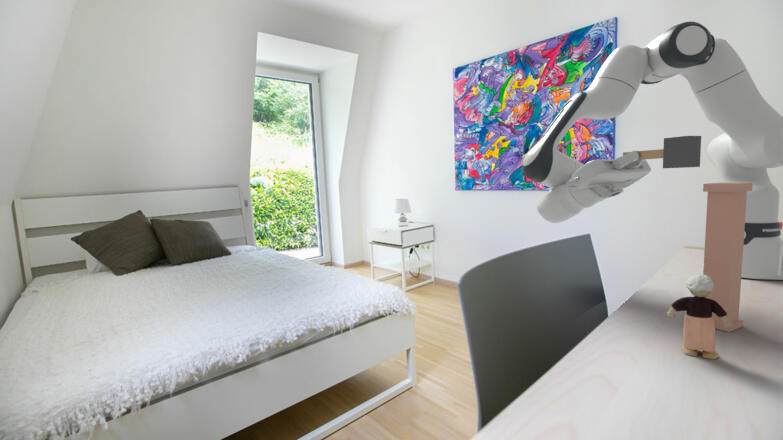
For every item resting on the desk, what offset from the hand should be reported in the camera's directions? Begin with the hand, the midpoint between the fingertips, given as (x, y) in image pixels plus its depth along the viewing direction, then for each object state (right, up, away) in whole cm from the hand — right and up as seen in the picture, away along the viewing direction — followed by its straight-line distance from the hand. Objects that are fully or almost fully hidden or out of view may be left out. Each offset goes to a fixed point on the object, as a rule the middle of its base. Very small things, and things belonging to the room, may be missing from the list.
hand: (642, 153), depth 81 cm
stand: (+6, -34, -12) cm, 36 cm away
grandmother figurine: (-7, -36, -22) cm, 43 cm away
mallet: (+1, -4, -2) cm, 5 cm away
